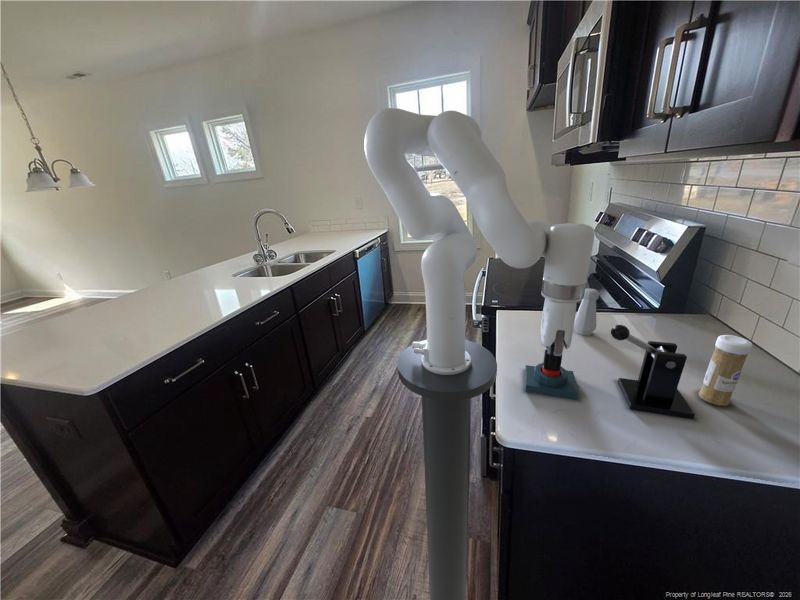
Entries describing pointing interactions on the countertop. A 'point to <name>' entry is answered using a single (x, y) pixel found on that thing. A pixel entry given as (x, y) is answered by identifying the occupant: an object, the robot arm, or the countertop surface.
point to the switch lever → (634, 339)
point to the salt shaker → (587, 313)
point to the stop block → (550, 382)
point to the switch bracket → (658, 384)
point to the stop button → (550, 372)
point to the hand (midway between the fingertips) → (551, 367)
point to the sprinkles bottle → (724, 369)
